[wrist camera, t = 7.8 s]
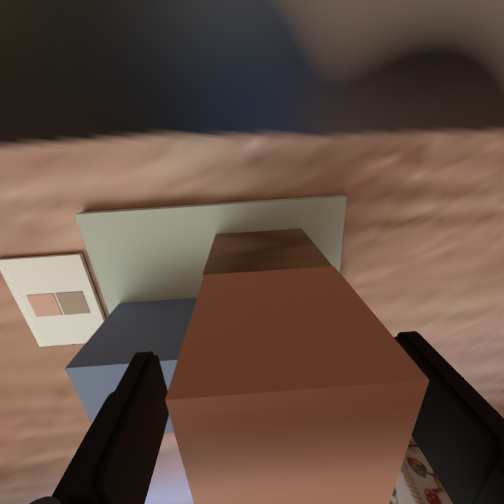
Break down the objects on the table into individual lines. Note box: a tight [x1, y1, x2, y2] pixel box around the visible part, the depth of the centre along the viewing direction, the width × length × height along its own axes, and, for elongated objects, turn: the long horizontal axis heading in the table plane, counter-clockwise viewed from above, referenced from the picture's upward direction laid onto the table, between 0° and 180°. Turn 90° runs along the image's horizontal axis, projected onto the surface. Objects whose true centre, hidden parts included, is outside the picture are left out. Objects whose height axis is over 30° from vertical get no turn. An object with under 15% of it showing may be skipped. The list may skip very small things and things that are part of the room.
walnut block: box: [202, 228, 332, 277], centre depth 15 cm, size 6×6×6 cm
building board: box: [75, 195, 347, 315], centre depth 19 cm, size 18×14×1 cm
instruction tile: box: [0, 253, 106, 346], centre depth 19 cm, size 6×8×1 cm
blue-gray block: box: [65, 298, 197, 433], centre depth 17 cm, size 6×6×6 cm
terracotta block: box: [165, 266, 429, 504], centre depth 9 cm, size 6×6×6 cm
